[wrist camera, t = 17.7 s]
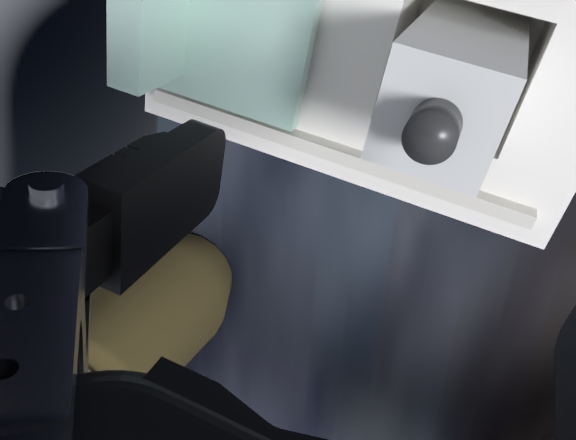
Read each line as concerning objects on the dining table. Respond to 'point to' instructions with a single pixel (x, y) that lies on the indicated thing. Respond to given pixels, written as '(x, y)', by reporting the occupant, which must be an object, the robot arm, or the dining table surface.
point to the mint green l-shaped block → (216, 52)
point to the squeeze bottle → (162, 310)
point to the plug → (449, 94)
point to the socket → (362, 99)
